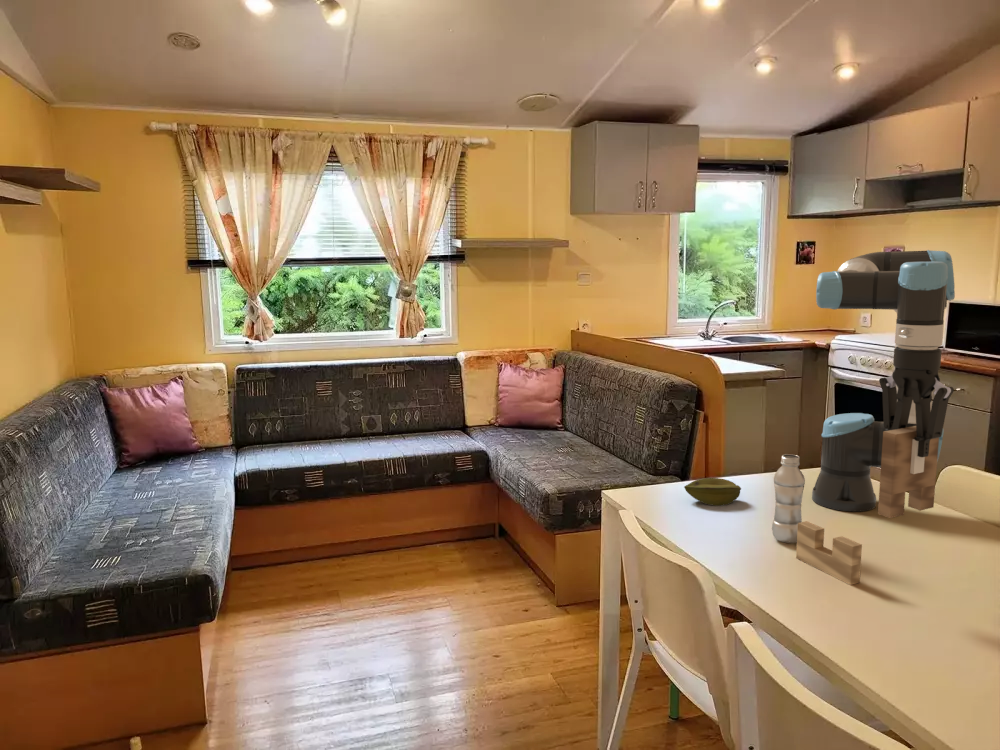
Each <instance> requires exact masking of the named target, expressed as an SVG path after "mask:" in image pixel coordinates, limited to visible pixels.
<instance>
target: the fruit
mask: <svg viewBox="0 0 1000 750" xmlns="http://www.w3.org/2000/svg"><path fill="white" fill-rule="evenodd" d="M683 488H684V490H685V492H686V493H687V494H689V495H690V496H691V498H693V499H695V500H696V501H698V502H700V503H702V504H705V505H708V506H709V505H710V506H715V507H716V506H717V507H718V506H719V507H721V506H727V505H730V504H732V503H733V502H735V501H736V500H737V499H738V498H739V497H740V495H741V490H742V488H741V486H740V485H737V484H736V483H735V482H734V481H731V480H727V479H725V478H718V477H706V478H698V479H696V480H693V481H691V482H690V483H688V484H686V485H684V486H683Z"/></svg>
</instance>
